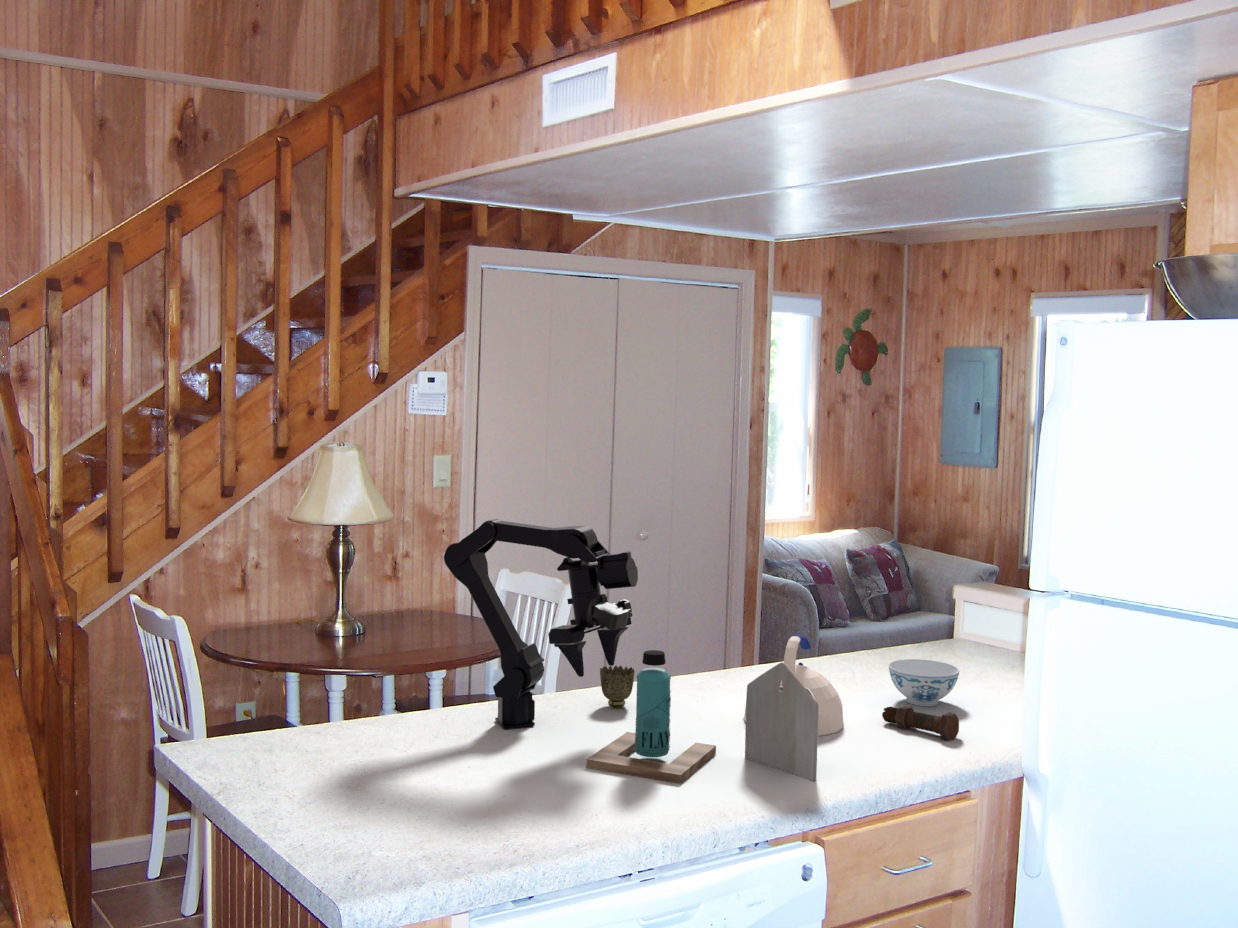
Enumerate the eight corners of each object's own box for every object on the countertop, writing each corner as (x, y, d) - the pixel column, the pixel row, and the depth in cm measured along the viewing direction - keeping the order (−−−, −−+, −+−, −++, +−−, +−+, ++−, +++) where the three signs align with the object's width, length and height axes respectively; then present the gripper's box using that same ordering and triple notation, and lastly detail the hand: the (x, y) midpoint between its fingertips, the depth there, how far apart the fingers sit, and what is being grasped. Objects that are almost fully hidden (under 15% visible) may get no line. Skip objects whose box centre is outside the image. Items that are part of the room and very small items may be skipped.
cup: (633, 711, 237) (634, 673, 236) (598, 710, 237) (599, 673, 236) (634, 701, 244) (634, 665, 244) (599, 700, 244) (600, 664, 244)
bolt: (887, 731, 233) (954, 745, 222) (875, 723, 230) (943, 737, 219) (895, 704, 235) (962, 717, 224) (883, 695, 232) (951, 708, 221)
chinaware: (966, 699, 251) (967, 665, 250) (946, 715, 238) (947, 679, 238) (900, 689, 259) (901, 655, 258) (877, 703, 246) (878, 668, 246)
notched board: (680, 783, 194) (680, 774, 194) (586, 767, 202) (586, 758, 202) (715, 753, 211) (715, 745, 211) (627, 739, 218) (627, 731, 218)
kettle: (731, 729, 226) (733, 640, 225) (758, 703, 245) (760, 621, 244) (832, 743, 218) (835, 651, 217) (852, 715, 237) (855, 630, 236)
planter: (842, 772, 202) (845, 664, 200) (814, 781, 196) (817, 671, 195) (772, 749, 214) (775, 647, 213) (743, 757, 209) (746, 654, 207)
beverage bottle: (635, 765, 203) (637, 655, 201) (632, 753, 209) (634, 647, 208) (672, 765, 203) (674, 655, 202) (667, 753, 210) (669, 647, 209)
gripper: (585, 599, 208) (597, 683, 208) (647, 581, 222) (658, 660, 222) (541, 600, 215) (552, 682, 215) (603, 583, 229) (614, 659, 230)
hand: (596, 670), depth 220 cm, fingers open, 9 cm apart
